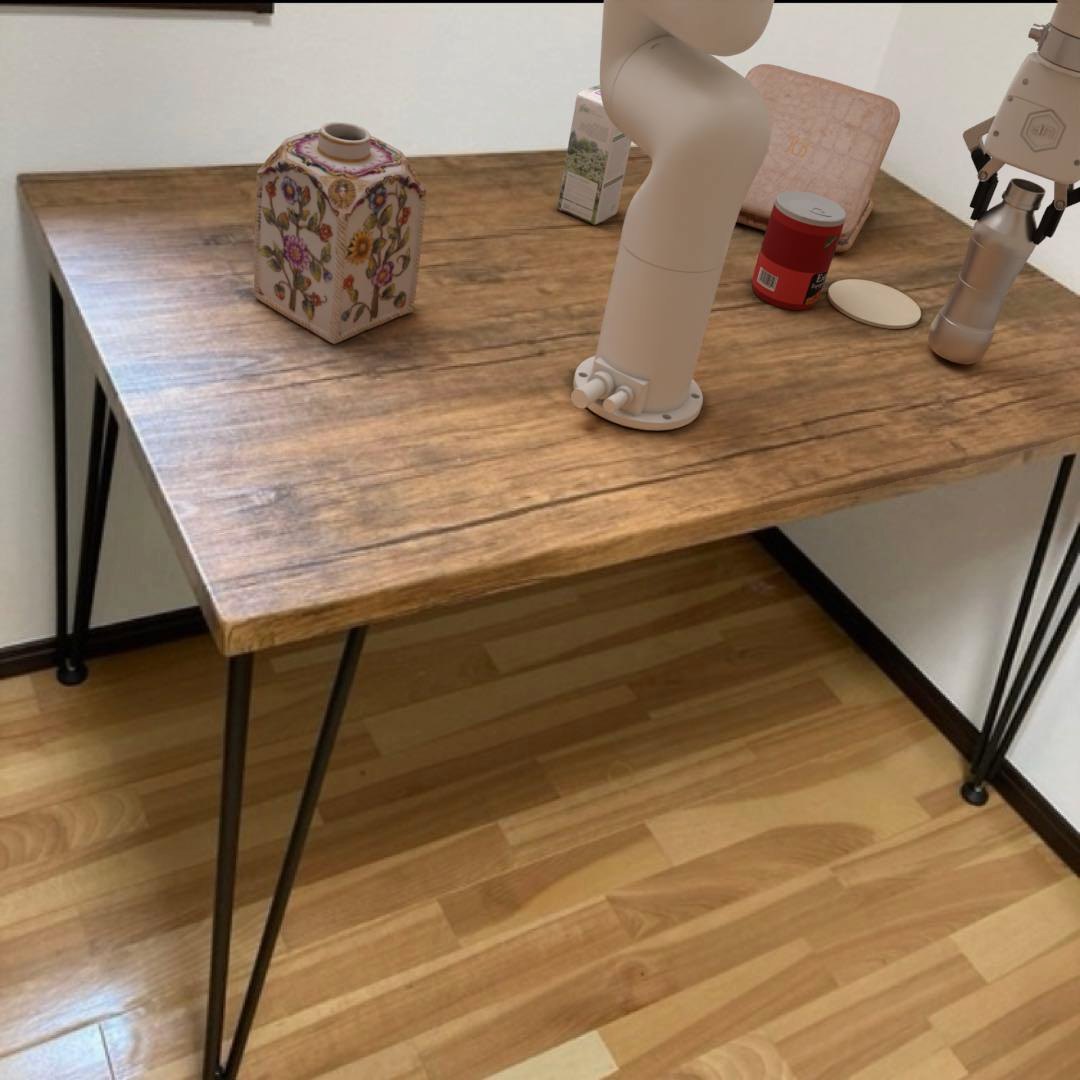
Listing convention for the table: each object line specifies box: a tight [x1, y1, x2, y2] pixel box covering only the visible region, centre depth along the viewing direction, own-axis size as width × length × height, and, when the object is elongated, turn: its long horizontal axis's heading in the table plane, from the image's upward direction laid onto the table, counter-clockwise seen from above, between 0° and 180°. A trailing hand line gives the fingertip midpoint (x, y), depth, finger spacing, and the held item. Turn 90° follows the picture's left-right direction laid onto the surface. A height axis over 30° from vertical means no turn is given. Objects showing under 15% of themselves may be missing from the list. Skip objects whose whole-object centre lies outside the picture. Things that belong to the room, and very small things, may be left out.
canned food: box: [751, 191, 846, 311], centre depth 140 cm, size 8×8×11 cm
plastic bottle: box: [927, 177, 1047, 365], centre depth 132 cm, size 6×7×20 cm
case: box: [736, 63, 901, 253], centre depth 159 cm, size 20×21×16 cm
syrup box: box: [556, 84, 633, 225], centre depth 149 cm, size 6×6×14 cm
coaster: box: [826, 278, 922, 330], centre depth 145 cm, size 11×11×1 cm
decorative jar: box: [253, 121, 427, 345], centre depth 119 cm, size 12×12×18 cm
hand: (1008, 227), depth 129 cm, fingers closed on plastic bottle, 6 cm apart
